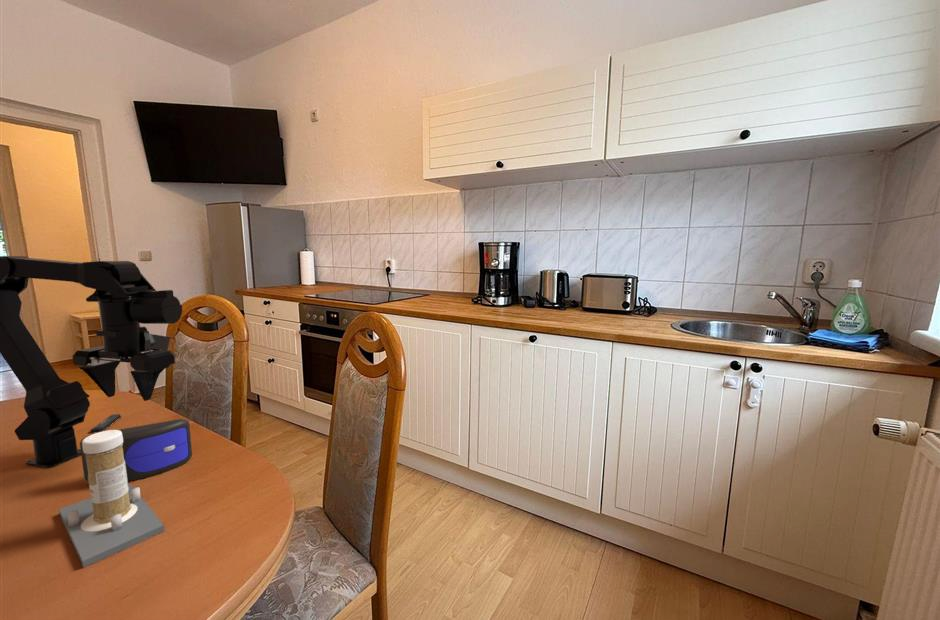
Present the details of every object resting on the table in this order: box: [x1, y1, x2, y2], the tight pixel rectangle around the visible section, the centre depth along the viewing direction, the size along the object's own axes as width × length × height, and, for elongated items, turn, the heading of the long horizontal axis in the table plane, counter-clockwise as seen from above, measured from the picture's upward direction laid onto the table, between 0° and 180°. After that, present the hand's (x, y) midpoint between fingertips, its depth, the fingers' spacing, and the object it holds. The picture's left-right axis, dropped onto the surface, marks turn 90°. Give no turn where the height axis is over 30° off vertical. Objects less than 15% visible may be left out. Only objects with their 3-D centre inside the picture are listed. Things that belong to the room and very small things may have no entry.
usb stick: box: [89, 413, 122, 434], centre depth 96 cm, size 10×3×2 cm, turn 20°
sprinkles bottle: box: [82, 429, 131, 523], centre depth 61 cm, size 5×5×13 cm
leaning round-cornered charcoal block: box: [79, 418, 193, 484], centre depth 74 cm, size 16×5×9 cm, turn 123°
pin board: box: [58, 483, 166, 569], centre depth 61 cm, size 18×9×3 cm, turn 54°
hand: (129, 398), depth 79 cm, fingers open, 9 cm apart
